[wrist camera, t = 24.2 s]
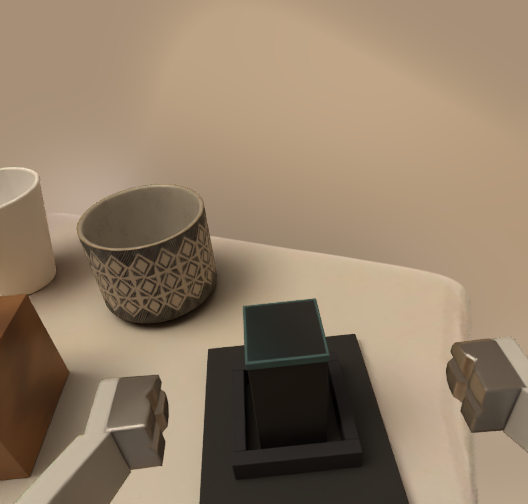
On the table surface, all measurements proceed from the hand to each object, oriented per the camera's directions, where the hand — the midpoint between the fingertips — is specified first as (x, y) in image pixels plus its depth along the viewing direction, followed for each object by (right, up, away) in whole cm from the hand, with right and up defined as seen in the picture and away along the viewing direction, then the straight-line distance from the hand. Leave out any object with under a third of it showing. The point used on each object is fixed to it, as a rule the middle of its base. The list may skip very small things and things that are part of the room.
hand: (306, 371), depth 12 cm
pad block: (+1, -10, +22) cm, 24 cm away
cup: (-31, 0, +42) cm, 52 cm away
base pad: (+1, -11, +23) cm, 25 cm away
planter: (-13, -1, +38) cm, 40 cm away
